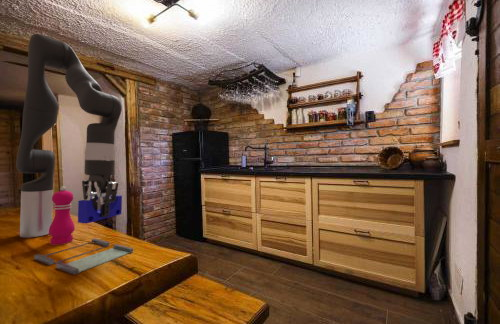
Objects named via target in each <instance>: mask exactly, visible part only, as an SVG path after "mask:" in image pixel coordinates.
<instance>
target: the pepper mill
mask: <svg viewBox="0 0 500 324" xmlns="http://www.w3.org/2000/svg"><path fill="white" fill-rule="evenodd" d="M73 200H74V193H73V192H71V191H69V190H67V187H66V186H64V185H63V186H60V188H59V190H58V191H56V192H55V193H54V192H53V196H52V201H53V210H54V218H53V219H52V223H51V225H50V228H49V234H48V235H50V236H51V238H50V239H49V243H50V245H52V246H57V245H59V244H60V245H65V244H69V243H71V242H73V240H74V238H73V237H74V235H73V233H74V231H76V227H75V223H74V221H73V220H72V218H71V211H70V210H71V209H72V202H73ZM68 242H69V243H68ZM64 243H65V244H64Z"/></svg>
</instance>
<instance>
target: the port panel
mask: <svg viewBox="0 0 500 324" xmlns="http://www.w3.org/2000/svg"><path fill="white" fill-rule="evenodd" d="M91 242H94V243H93V244H95V243H97V244H96V245H99V244H100V245H99V246H102V245H103V246H102V247H98V248H96V249H92V250H89V251H86V252H84V253H79V254H77V255H74V256H71V257H68V258H65V259H64V258H63V259H61V260H58V261H55V260H54V259H53V258H51V257H48V256H51V255H54V254H58V253H60V252H64V250H65V251H68V250H71V248H72V249H75V248H78V247H77V246H79V247H82V246H85V245H88V244H87V243H89V244H92V243H91ZM87 243H83V244H80V245H76V246H73V247H68V248H66V249H63V250H59V251H55V252H51V253H47V254H45V255H43V254H40V253H38V254H34V260H36V261H39V262H40V263H42V264H45V265H48V266H51V265H54V264H55V265H56V269H58V270H61V271H63V272H65V273H68V274H70V275H73V276H74V275H77V274H80V273H82V272H85V271H87V270H90V269H93V268H96V267H98V266H100V265H102V264H106V263H107V262H110V261H113V260H115V259H118V258H121V257H123V256H126V255H128V254H131V253H134V248H133V247H129V246H125V245H123V244H122V245H121V244H117V243H115V244H113V245H112V246H113V247H112V248H109V249H106V250H103V251H100V252H97V253H94V254H91V255H87V256H85V257H82V258H80V259H77V260H73V261H71V262H67V263H65V262H64V260H65V261H68V260H70V258H71V259H74V258H77V257H80V256H83V255H85V254H89V253H91V251H92V252H95V251H98V250H101V249H103V248H104V249H105V248H107V247H109V246H110V242H109V241H106V240H102V239H99V238H91V241H90V242H87ZM84 244H85V245H84ZM81 245H82V246H81ZM94 250H95V251H94ZM79 255H80V256H79ZM67 259H68V260H67Z"/></svg>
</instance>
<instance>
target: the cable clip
mask: <svg viewBox="0 0 500 324" xmlns="http://www.w3.org/2000/svg"><path fill="white" fill-rule="evenodd" d="M110 196H111V198H112V195H110ZM122 198H123V196H122V195H120V194H119V195H117V194H116V200H115V202H111V203H110V209H109V210H110V211H109V216H107V217H100V208H99V209H98V211H95V209H94V208H93V205H92V201H90V200H84V199H80V200H78V204H77V205H78V207H77V210H78V211H77V223H78V224H79V223H80V224H90V223H94V222H97V221H101V220H104V219H108V218H112V217H116V216H119V215H120V216H121V215H122V205H123V204H122V203H123V202H122V201H123V199H122Z"/></svg>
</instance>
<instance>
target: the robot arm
mask: <svg viewBox="0 0 500 324" xmlns="http://www.w3.org/2000/svg"><path fill="white" fill-rule="evenodd" d="M27 50H28V51H27V82H26V91H25V96H24V103H23V109H22V110H23V112H22V125H21V135H20V141H19V145H18V149H17V154H16V159H15V167H16V170H17V171H18V172H19V173H21V174H41V176H40V177H38V178H36V179H32V180H30V181H27V182H24V183H22V184H21V186H20V187H21V188H20V192H21V193H20V219H19V221H20V223H19V224H20V225H19V237H20V238H36V237H41V236H45V235H50V234H49V228H50V225H51V223H52V222H53V212H54V211H53V210H54V202H53V201H52V196H53V194H54V180H55V179H54V178H55V167H56V156H55V153H54V151H52V150H49V149H33V147H34V145H35V144H36V142H37V141H38V140H39V139H40V138H41V137H42V136H43V135H45V134H46V133H47V132H49V131H50V130H51V129H52V128H53V127H54V126H55V125H56V123H57V121H58V117H59V110H60V104H59V101H58V99H57V98H56V96H55V94H54V93H53V91H52V89H51V88H50V86H49V84H48V82H47V80H46V74H45V70H46V69H45V68H46V67H48V68H49V67H50V68H55V69H58V70H65V71H66V72H65V76H64V78H65V82H66V84H67V85H68V87H69V88H70V89H71V90H72V92H73V93H74V94H75V95H76V98H77V101H78V104H79V107H80V108H81V110H82V111H84V112H85V113H87V114H89V115H94V116H99V117H102V119H101V121H100V122H95V123H89V124H88V125H87V126H86V144H85V149H84V175H86V176H88V179H87V180H86V179H85V180H82V181H81V184H82V185H81V187H82V194H83V200H90V201H92V205H93V208H94V209H95V211H98V210H99V209H100V217H107V216H109V211H110V210H109V209H110V203H111V202H115V200H116V195H117V193H118V189H119V187H118V186H119V182H117V181H116V182H115V181H112V178H111V176H113V175H114V174H115V172H116V171H115V170H116V167H115V166H116V162H115V161H116V160H115V159H116V149H115V136H116V135H115V134H116V133H115V132H116V129H117V126H118V123H119V120H120V116H121V113H122V108H123V107H122V102H121V101H120V99H119V97H117V96H115V95H112V94H110V93H106V92H103V90H102V87H101V85H100V84H99V82H97V80H95V79H94V77H92V76H91V74H89V72H88V71H87V70H86V68H85V67H84V66H83V64H82V62H81V61H80V58H79V56H77V53H76V52H75V51H74V49H73V48H72V47H71V46H70V44H68V43H67V42H64V41H61V40H58V39H55V38H52V37H49V36H46V35H43V34H40V33H35V34H32V35H31V36H30V38H29V41H28V49H27ZM111 195H112V198H111ZM99 200H100V208H99V209H98V207H99V206H98V205H99V204H98V203H99V202H98V201H99Z"/></svg>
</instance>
